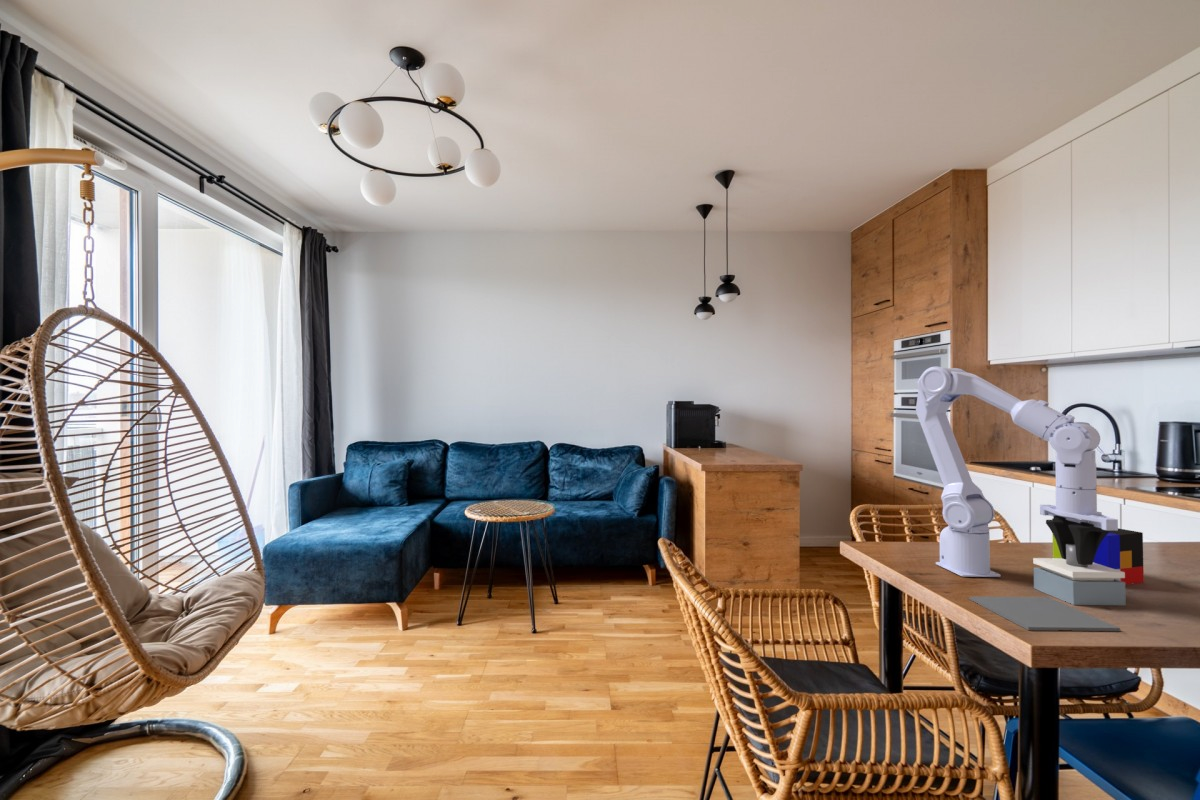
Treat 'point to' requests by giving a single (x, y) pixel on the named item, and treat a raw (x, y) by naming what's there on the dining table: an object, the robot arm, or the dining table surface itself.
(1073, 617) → the mat
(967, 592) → the dining table surface
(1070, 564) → the lid
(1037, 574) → the storage box
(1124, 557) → the puzzle toy
